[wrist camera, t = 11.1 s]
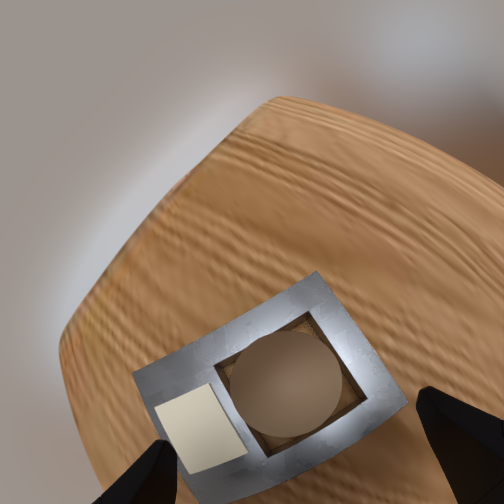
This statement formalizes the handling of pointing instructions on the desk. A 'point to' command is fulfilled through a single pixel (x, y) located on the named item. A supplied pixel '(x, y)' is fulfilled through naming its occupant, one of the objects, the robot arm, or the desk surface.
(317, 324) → the hole plate
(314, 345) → the walnut peg
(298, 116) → the desk surface
